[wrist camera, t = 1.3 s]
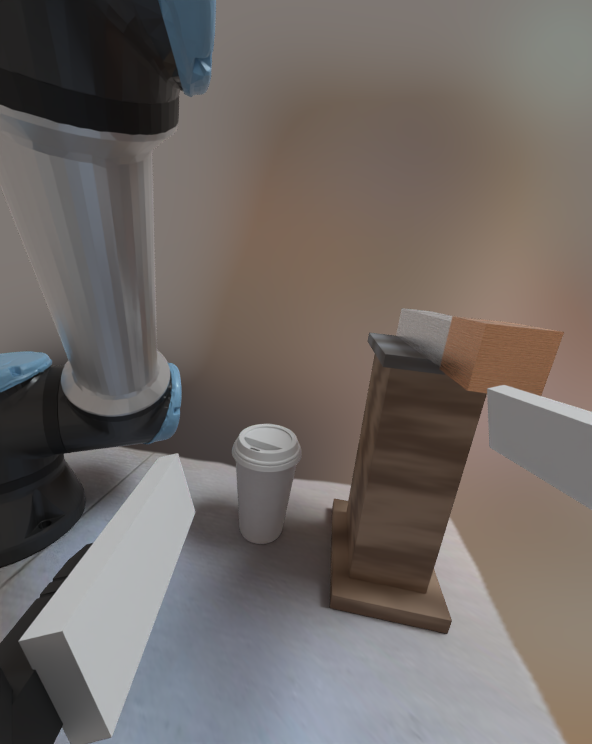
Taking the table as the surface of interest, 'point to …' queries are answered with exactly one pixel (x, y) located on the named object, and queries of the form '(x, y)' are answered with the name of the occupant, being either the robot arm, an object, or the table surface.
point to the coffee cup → (264, 479)
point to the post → (402, 489)
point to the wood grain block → (482, 349)
